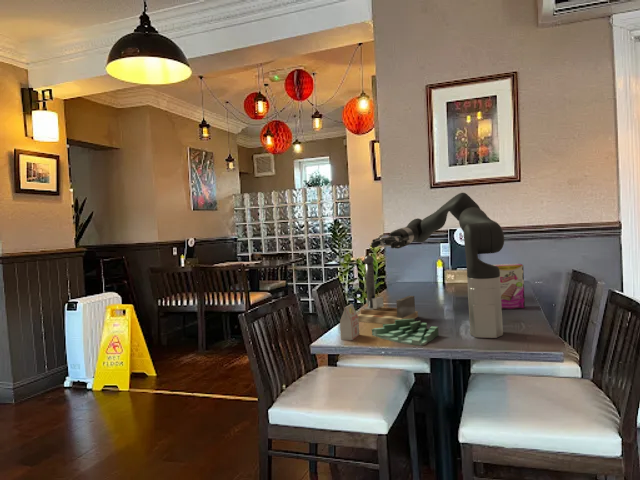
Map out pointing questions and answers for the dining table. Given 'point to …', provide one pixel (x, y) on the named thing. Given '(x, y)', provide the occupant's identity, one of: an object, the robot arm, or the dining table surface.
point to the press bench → (391, 312)
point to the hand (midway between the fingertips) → (381, 245)
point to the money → (407, 332)
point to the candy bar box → (512, 285)
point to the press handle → (371, 286)
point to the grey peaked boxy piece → (349, 323)
